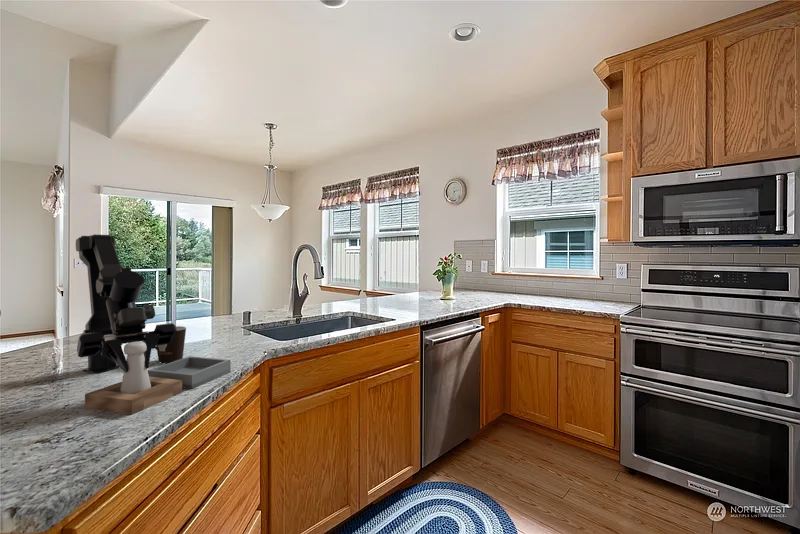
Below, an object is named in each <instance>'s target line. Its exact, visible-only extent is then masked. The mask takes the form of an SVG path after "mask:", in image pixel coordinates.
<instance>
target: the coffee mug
mask: <svg viewBox="0 0 800 534" xmlns="http://www.w3.org/2000/svg"><path fill="white" fill-rule="evenodd" d="M175 326H176V329H177V332H176V334H175V337H174V339H173V341H172V343H170V344H165V345H156V347H155V348H154V349H155V350H156V352H157V358H158V363H159V362H161V363H160V364H163V363H167V364H168V363H171V362H174V361H177V360H180V359H183V358H184V349H185V341H186V333H187V327H186V326H181V325H180V326H179V325H175Z"/></svg>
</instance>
